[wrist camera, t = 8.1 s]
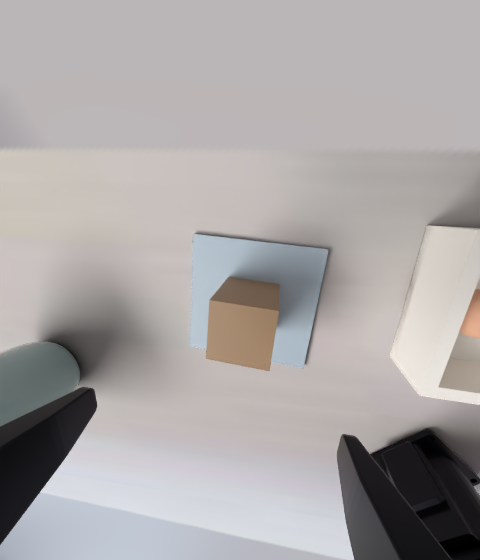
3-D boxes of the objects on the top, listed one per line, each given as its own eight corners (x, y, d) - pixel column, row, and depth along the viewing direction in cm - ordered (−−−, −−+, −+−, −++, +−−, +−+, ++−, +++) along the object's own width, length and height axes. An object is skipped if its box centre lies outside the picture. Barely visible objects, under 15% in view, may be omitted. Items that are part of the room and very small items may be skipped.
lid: (326, 248, 17) (349, 265, 11) (302, 362, 20) (311, 420, 14) (197, 233, 18) (160, 241, 12) (193, 341, 21) (162, 387, 15)
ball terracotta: (496, 305, 15) (547, 327, 12) (451, 332, 16) (489, 358, 13) (467, 273, 15) (512, 288, 12) (424, 302, 16) (456, 322, 13)
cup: (15, 342, 24) (-153, 424, 15) (65, 320, 22) (-94, 399, 13) (56, 398, 26) (-73, 506, 16) (106, 383, 24) (-9, 496, 14)
